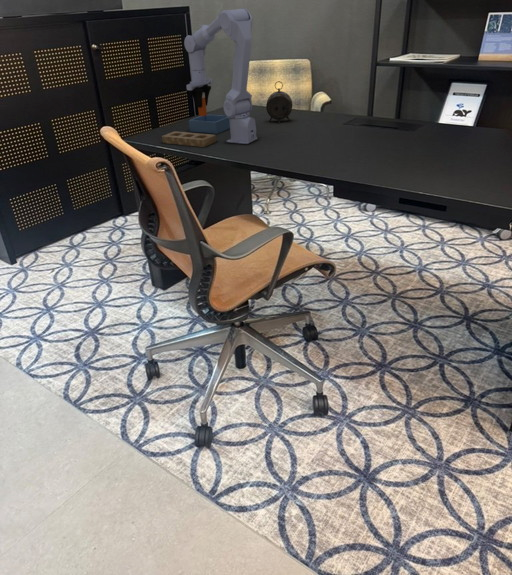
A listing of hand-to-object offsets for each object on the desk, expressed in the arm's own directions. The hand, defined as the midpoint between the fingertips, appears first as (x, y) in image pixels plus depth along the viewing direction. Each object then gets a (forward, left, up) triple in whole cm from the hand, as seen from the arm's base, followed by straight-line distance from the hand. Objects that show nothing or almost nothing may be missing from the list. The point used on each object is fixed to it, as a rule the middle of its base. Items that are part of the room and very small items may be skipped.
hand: (202, 106), depth 201 cm
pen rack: (-3, +14, -10) cm, 18 cm away
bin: (+1, -6, -10) cm, 12 cm away
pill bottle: (0, 0, -3) cm, 3 cm away
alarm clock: (-21, -26, -11) cm, 35 cm away
